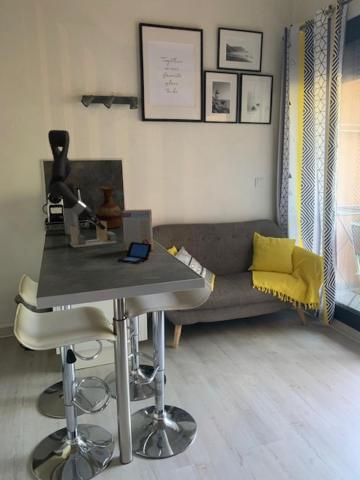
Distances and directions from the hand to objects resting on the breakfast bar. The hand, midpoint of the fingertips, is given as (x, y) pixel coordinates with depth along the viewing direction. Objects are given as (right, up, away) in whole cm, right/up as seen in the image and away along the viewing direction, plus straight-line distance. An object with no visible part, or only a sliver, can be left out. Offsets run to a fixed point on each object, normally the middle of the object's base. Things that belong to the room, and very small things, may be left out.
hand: (102, 228), depth 219 cm
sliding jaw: (-13, -9, -5) cm, 16 cm away
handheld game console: (+24, -17, -44) cm, 53 cm away
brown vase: (-7, +2, +59) cm, 60 cm away
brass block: (0, -7, +1) cm, 7 cm away
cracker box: (+23, -12, -24) cm, 36 cm away
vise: (-5, -9, -1) cm, 10 cm away
